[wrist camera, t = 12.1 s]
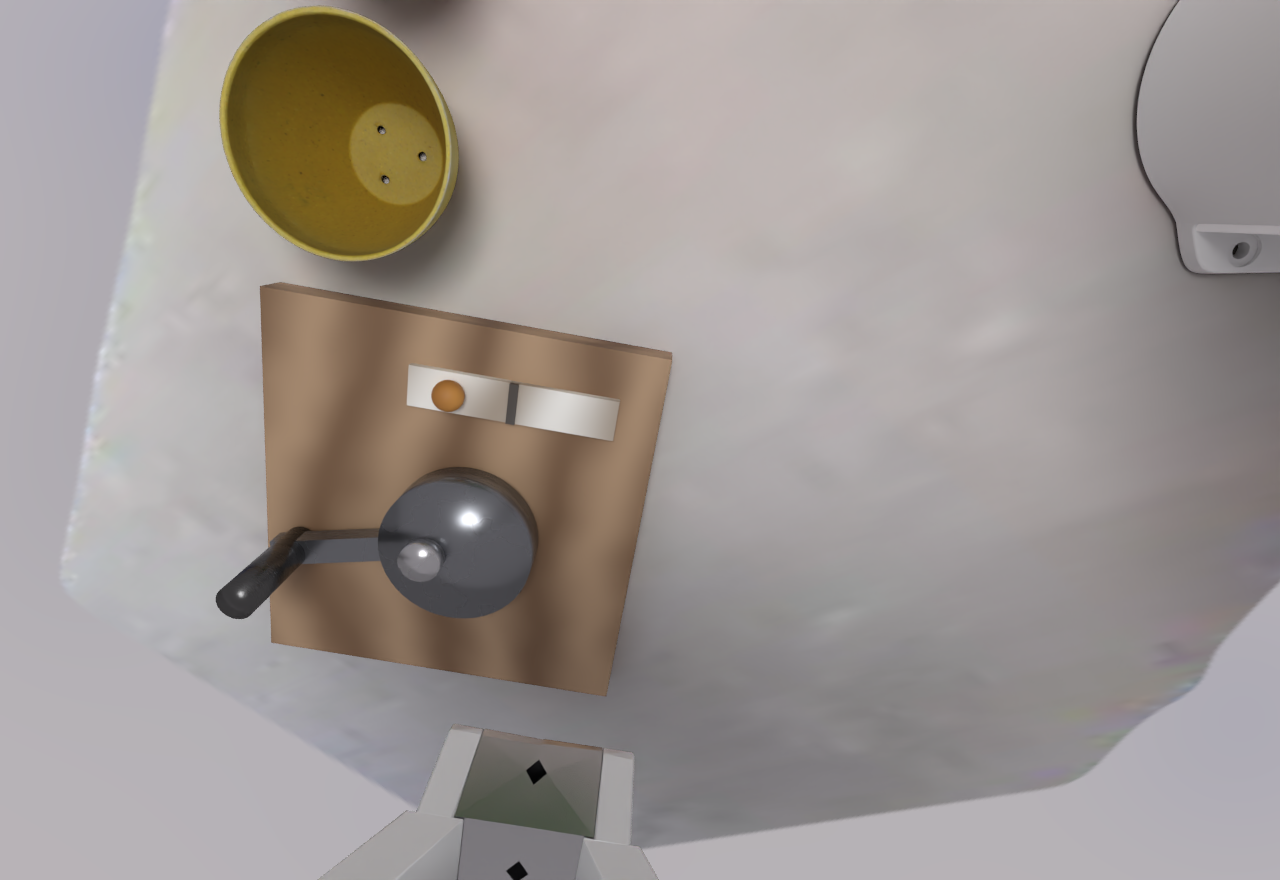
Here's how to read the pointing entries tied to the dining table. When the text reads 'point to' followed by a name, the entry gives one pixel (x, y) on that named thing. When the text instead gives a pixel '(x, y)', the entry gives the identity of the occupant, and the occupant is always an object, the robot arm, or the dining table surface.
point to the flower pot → (337, 134)
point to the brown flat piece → (456, 437)
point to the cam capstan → (417, 548)
